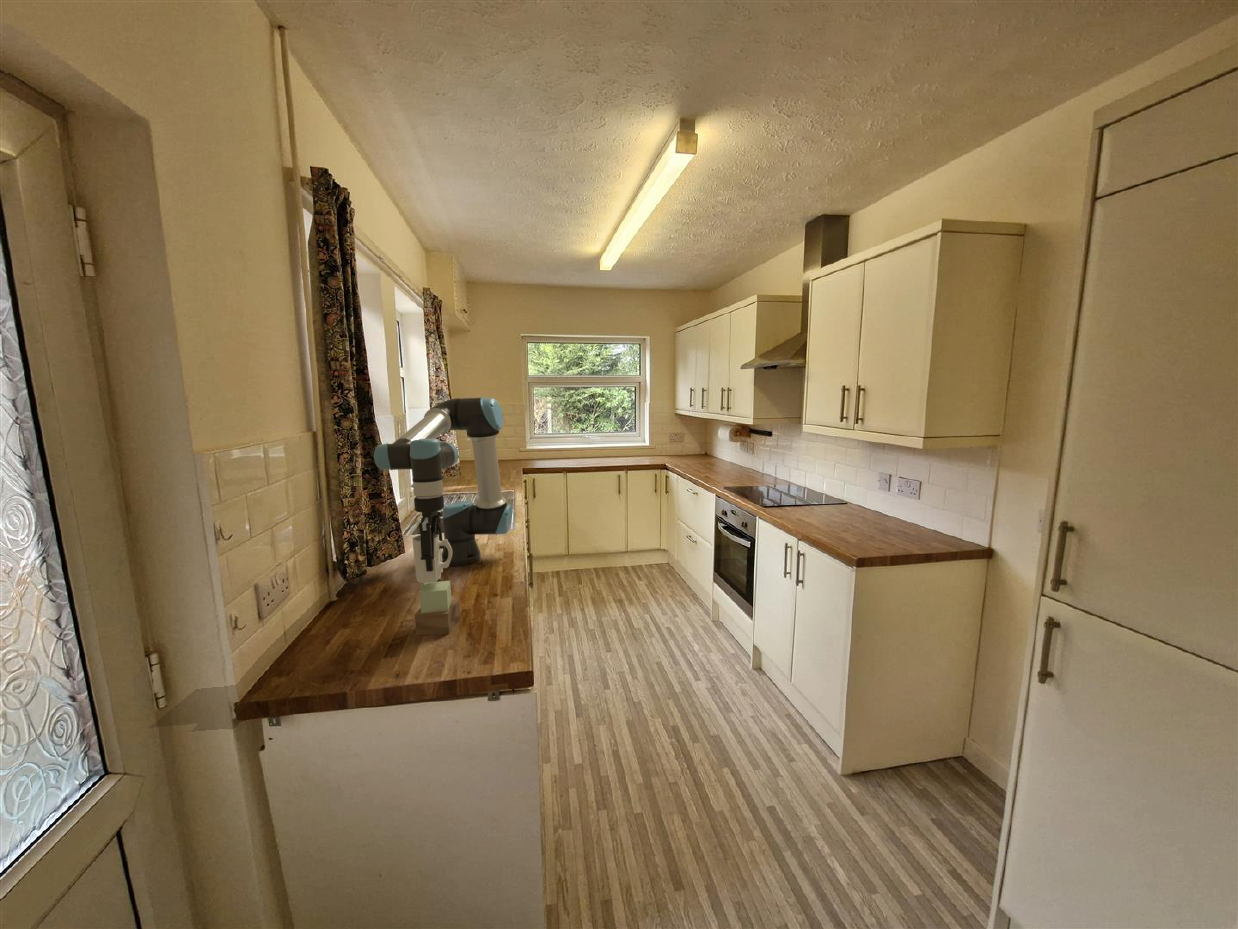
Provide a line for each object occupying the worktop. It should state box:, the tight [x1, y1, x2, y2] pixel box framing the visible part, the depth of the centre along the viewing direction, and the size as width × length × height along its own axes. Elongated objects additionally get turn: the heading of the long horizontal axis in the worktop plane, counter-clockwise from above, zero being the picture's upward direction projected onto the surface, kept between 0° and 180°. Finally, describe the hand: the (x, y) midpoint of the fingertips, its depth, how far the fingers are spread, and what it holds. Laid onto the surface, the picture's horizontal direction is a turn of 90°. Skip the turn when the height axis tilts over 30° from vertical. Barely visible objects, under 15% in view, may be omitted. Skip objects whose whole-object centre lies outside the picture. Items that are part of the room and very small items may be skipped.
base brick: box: [414, 599, 461, 636], centre depth 133 cm, size 9×9×6 cm
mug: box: [411, 534, 452, 584], centre depth 131 cm, size 10×7×12 cm, turn 103°
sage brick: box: [419, 580, 453, 614], centre depth 132 cm, size 7×7×6 cm
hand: (434, 576), depth 132 cm, fingers closed on mug, 6 cm apart
